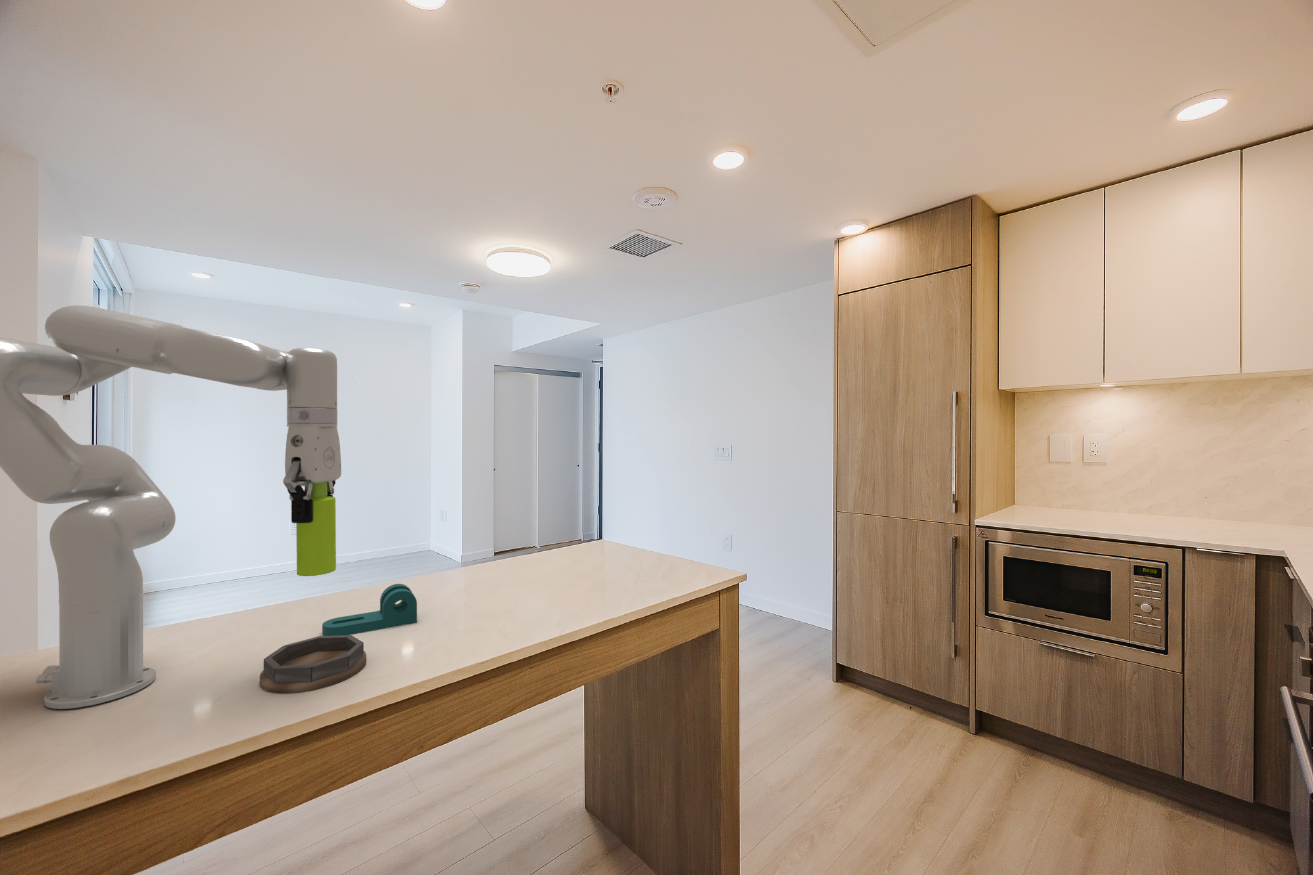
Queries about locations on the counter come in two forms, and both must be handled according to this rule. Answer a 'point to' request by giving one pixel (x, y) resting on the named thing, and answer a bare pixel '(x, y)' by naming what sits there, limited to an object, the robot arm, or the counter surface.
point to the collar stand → (312, 664)
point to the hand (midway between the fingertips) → (313, 518)
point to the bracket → (378, 614)
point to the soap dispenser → (318, 536)
